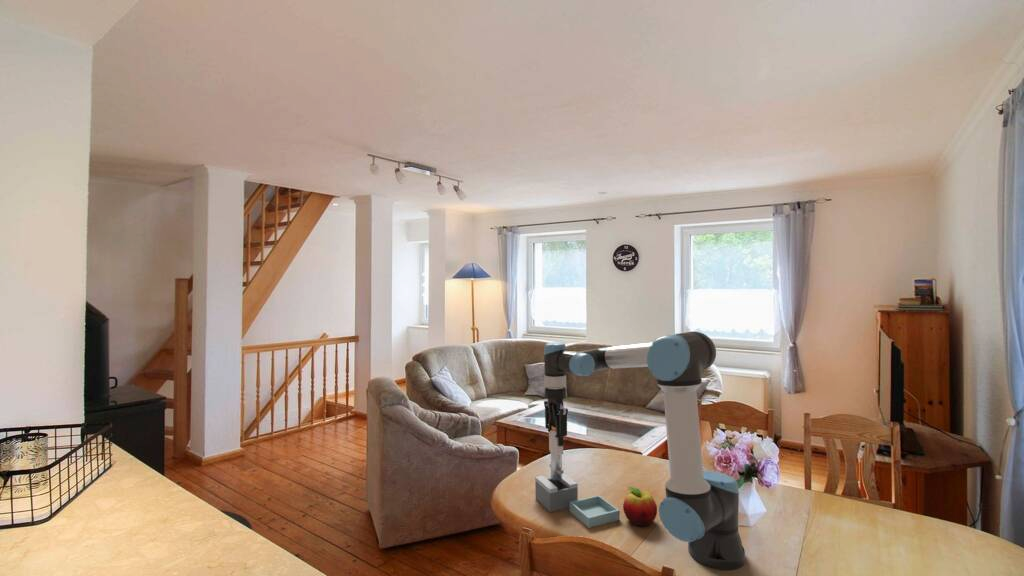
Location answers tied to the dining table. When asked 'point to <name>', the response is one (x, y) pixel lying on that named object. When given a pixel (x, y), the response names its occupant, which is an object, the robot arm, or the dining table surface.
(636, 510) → the fruit
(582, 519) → the tray
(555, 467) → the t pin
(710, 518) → the robot arm
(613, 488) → the dining table surface
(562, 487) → the block
